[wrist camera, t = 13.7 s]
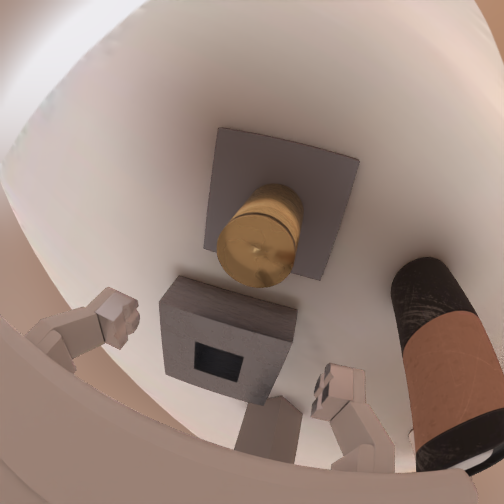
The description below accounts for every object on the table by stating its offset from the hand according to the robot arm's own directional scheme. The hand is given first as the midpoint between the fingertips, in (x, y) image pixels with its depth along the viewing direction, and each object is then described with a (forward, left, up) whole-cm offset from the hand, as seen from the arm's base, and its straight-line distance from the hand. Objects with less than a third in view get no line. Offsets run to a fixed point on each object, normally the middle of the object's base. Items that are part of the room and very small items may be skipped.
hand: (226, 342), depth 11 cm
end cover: (0, 0, -16) cm, 16 cm away
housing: (+3, +18, -17) cm, 25 cm away
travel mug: (-16, +4, -17) cm, 24 cm away
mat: (+1, 0, -17) cm, 17 cm away
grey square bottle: (-7, +34, -17) cm, 39 cm away
